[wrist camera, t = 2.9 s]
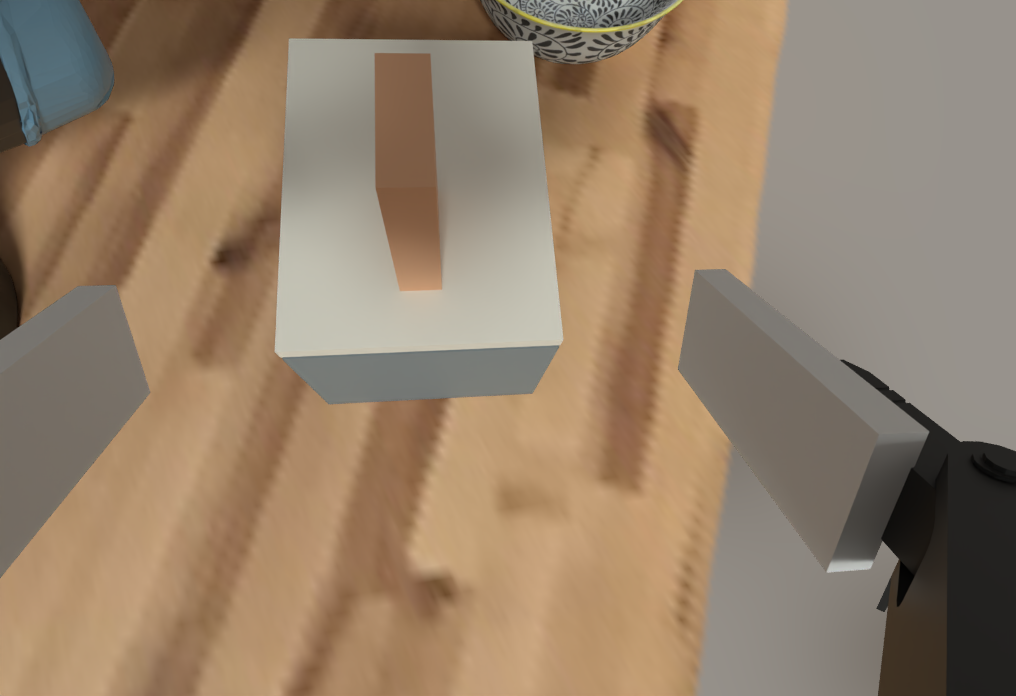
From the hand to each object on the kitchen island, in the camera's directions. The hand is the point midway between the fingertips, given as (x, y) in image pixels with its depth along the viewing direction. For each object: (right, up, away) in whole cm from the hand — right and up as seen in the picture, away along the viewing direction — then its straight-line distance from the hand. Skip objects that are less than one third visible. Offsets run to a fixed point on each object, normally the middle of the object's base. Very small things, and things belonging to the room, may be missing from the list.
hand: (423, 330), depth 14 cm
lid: (-2, +7, +14) cm, 16 cm away
